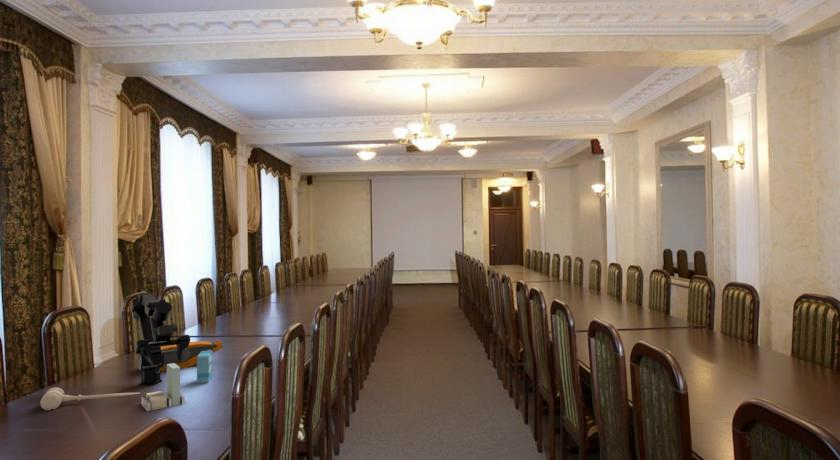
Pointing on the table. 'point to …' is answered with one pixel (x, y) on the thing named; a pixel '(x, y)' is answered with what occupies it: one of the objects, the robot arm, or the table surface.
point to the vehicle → (187, 353)
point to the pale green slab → (173, 383)
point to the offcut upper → (156, 397)
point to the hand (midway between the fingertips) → (166, 363)
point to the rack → (146, 405)
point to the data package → (204, 367)
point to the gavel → (69, 397)
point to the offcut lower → (158, 405)
